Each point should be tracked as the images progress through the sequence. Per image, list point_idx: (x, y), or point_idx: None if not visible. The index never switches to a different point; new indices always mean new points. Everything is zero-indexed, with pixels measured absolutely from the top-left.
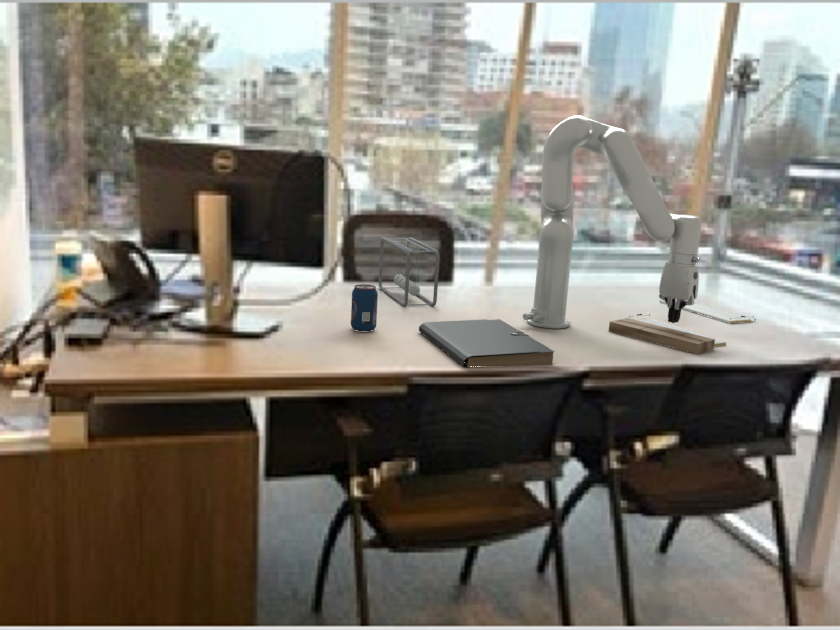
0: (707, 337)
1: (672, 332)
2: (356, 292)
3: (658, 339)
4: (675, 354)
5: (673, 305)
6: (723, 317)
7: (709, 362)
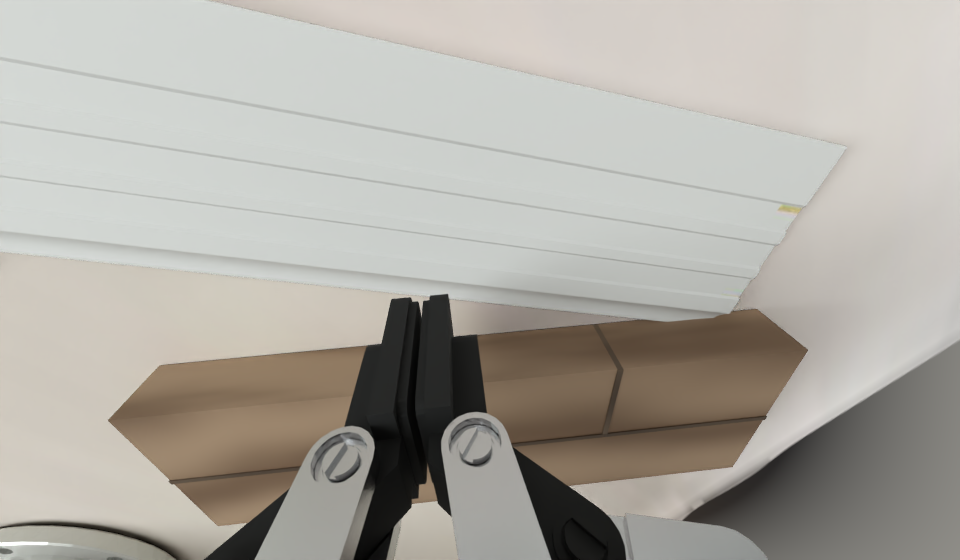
0: (684, 152)
1: (547, 431)
2: None
3: None
4: None
5: (392, 506)
6: None
7: (766, 449)
